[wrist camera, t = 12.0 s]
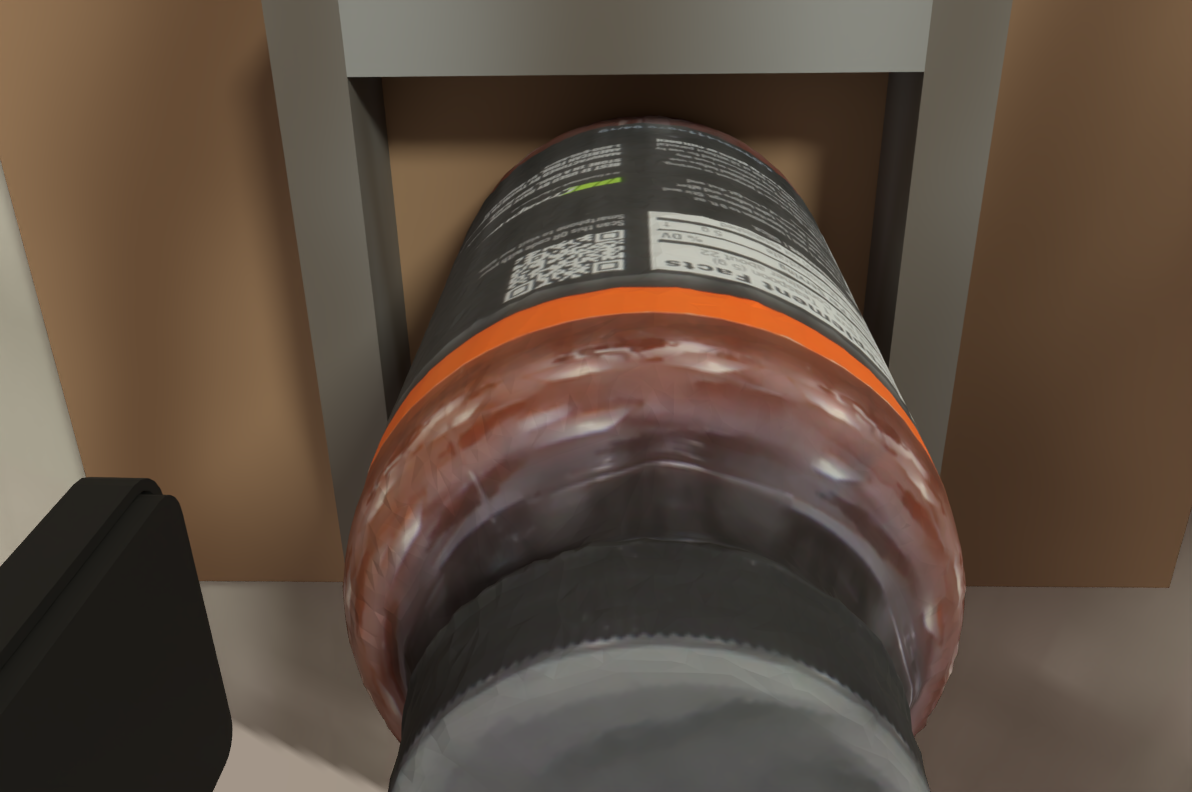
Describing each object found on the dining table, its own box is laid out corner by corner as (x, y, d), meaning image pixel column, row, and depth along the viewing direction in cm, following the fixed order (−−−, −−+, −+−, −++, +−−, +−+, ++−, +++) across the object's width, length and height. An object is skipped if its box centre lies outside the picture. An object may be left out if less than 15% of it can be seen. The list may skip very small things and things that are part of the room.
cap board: (1320, -130, 16) (1472, -123, 13) (1142, 550, 21) (1221, 660, 18) (-26, -109, 16) (-164, -99, 14) (139, 543, 22) (65, 649, 19)
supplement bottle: (649, 503, 20) (657, 1202, 10) (389, 294, 18) (69, 880, 8) (905, 278, 17) (1262, 879, 7) (636, 17, 16) (628, 335, 6)
